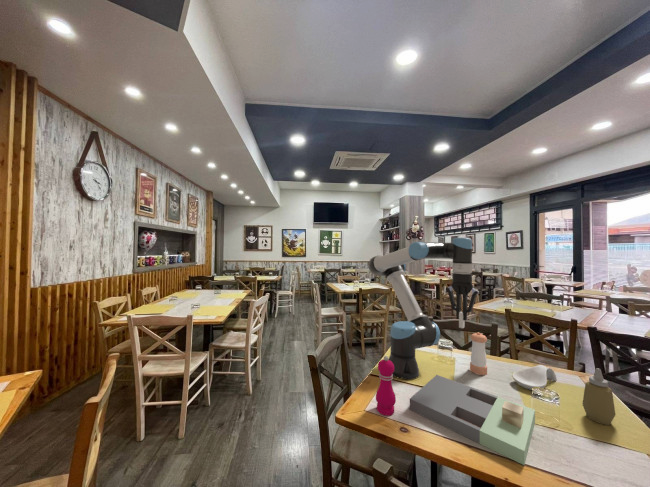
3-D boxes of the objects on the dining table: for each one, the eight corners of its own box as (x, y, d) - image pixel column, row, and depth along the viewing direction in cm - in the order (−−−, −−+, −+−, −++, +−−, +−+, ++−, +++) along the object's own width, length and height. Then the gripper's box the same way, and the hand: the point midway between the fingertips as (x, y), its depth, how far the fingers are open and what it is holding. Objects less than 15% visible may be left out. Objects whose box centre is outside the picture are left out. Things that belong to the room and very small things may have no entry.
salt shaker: (467, 367, 129) (467, 329, 130) (482, 368, 128) (483, 330, 129) (473, 374, 122) (474, 334, 122) (490, 375, 121) (490, 335, 121)
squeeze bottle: (577, 415, 93) (577, 366, 93) (588, 410, 96) (588, 362, 96) (609, 430, 85) (609, 376, 86) (620, 423, 88) (619, 372, 89)
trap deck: (409, 409, 95) (409, 398, 95) (436, 383, 113) (436, 374, 113) (524, 465, 71) (524, 451, 71) (535, 421, 89) (535, 409, 89)
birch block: (502, 420, 83) (502, 407, 83) (505, 413, 87) (505, 400, 87) (521, 428, 80) (521, 414, 80) (523, 420, 83) (523, 407, 83)
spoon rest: (537, 397, 104) (537, 379, 104) (506, 383, 115) (506, 367, 115) (565, 385, 114) (565, 369, 114) (535, 373, 125) (535, 358, 125)
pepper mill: (382, 401, 99) (383, 350, 99) (399, 410, 94) (399, 356, 94) (371, 410, 94) (372, 355, 94) (388, 419, 89) (389, 362, 89)
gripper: (443, 272, 112) (443, 325, 112) (476, 274, 103) (476, 332, 103) (449, 271, 118) (449, 322, 117) (481, 273, 109) (481, 329, 108)
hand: (461, 327), depth 110 cm, fingers closed
